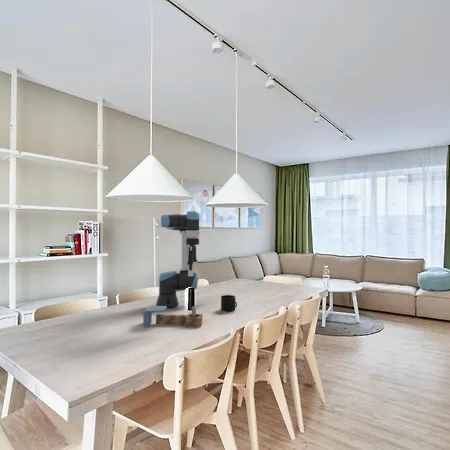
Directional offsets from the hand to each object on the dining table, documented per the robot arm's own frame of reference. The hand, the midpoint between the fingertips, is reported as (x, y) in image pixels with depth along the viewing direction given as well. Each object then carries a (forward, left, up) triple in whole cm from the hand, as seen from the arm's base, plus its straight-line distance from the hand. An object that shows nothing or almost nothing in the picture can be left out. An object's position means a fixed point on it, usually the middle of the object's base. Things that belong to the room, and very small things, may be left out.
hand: (192, 274), depth 193 cm
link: (-1, -10, -27) cm, 29 cm away
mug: (+6, +33, -27) cm, 43 cm away
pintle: (+6, -6, -27) cm, 28 cm away
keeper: (-12, -17, -27) cm, 34 cm away
